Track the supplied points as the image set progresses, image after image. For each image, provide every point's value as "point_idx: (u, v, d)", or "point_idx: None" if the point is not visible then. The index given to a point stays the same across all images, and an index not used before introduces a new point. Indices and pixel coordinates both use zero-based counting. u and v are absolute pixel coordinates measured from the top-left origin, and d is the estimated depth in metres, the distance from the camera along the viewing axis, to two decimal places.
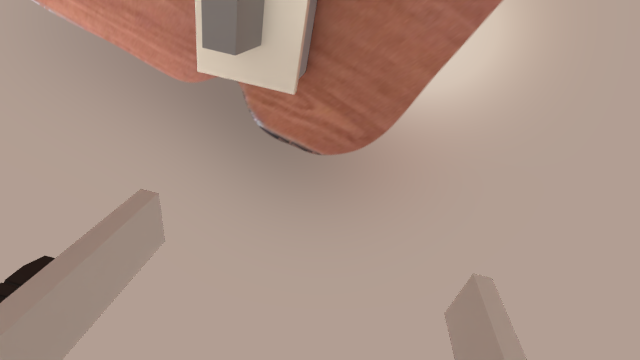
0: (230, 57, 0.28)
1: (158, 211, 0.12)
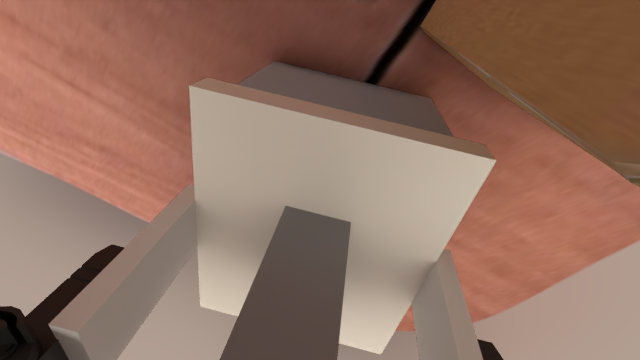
0: None
1: None
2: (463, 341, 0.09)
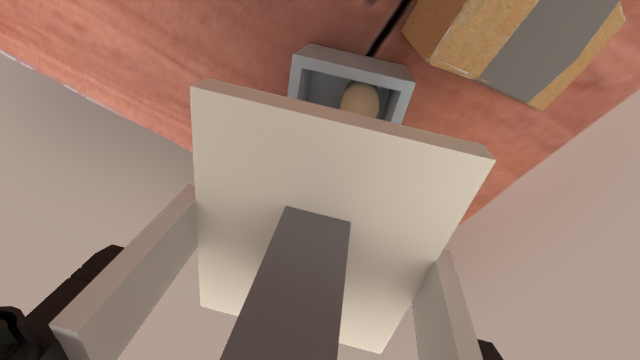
0: None
1: None
2: (463, 341, 0.09)
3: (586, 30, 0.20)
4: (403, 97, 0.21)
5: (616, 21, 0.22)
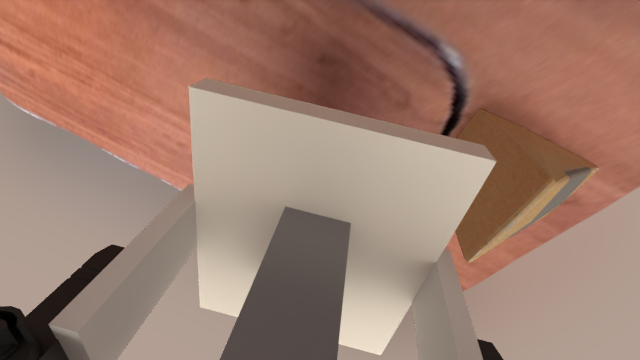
0: None
1: None
2: (463, 341, 0.09)
3: (568, 193, 0.29)
4: None
5: (591, 174, 0.31)
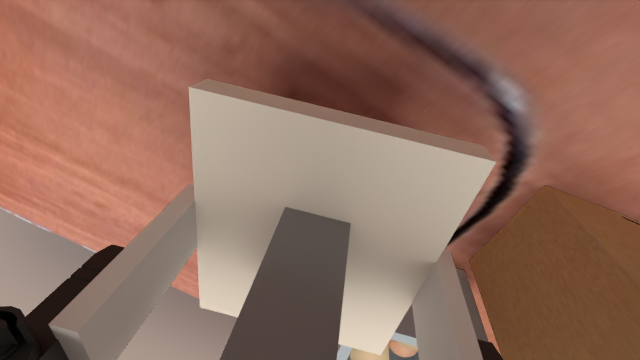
0: None
1: None
2: (463, 341, 0.09)
3: None
4: None
5: None
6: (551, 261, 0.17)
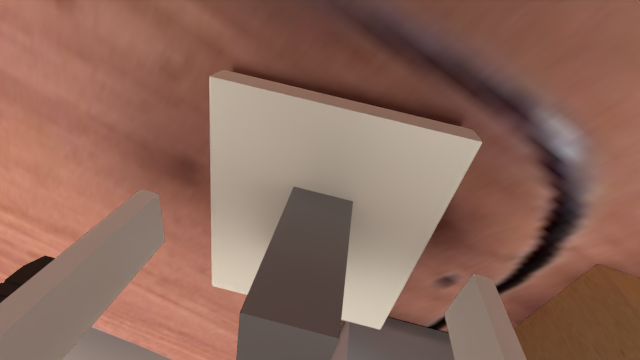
0: None
1: (158, 211, 0.12)
2: None
3: None
4: None
5: None
6: None
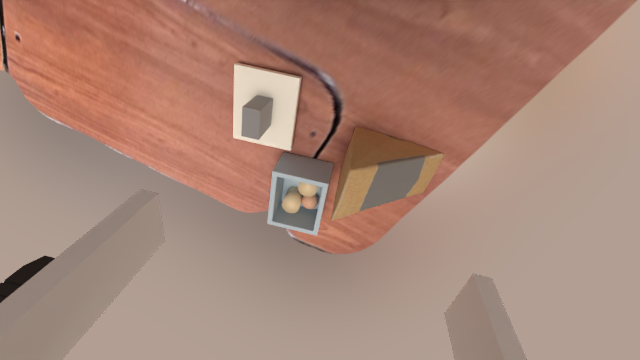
0: None
1: (158, 211, 0.12)
2: None
3: (413, 173, 0.45)
4: (324, 189, 0.46)
5: (434, 159, 0.47)
6: (348, 151, 0.45)
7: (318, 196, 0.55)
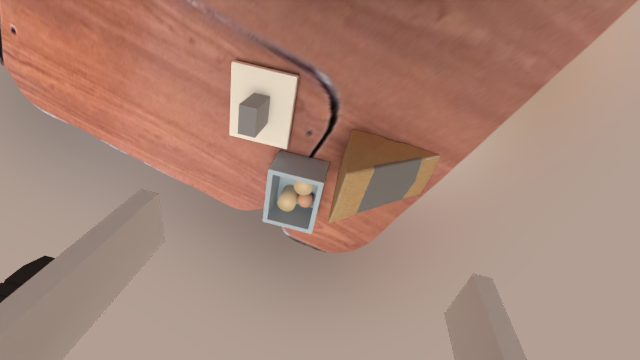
0: None
1: (158, 211, 0.12)
2: None
3: (409, 175, 0.45)
4: (319, 188, 0.46)
5: (431, 160, 0.47)
6: (346, 154, 0.45)
7: (314, 195, 0.55)
